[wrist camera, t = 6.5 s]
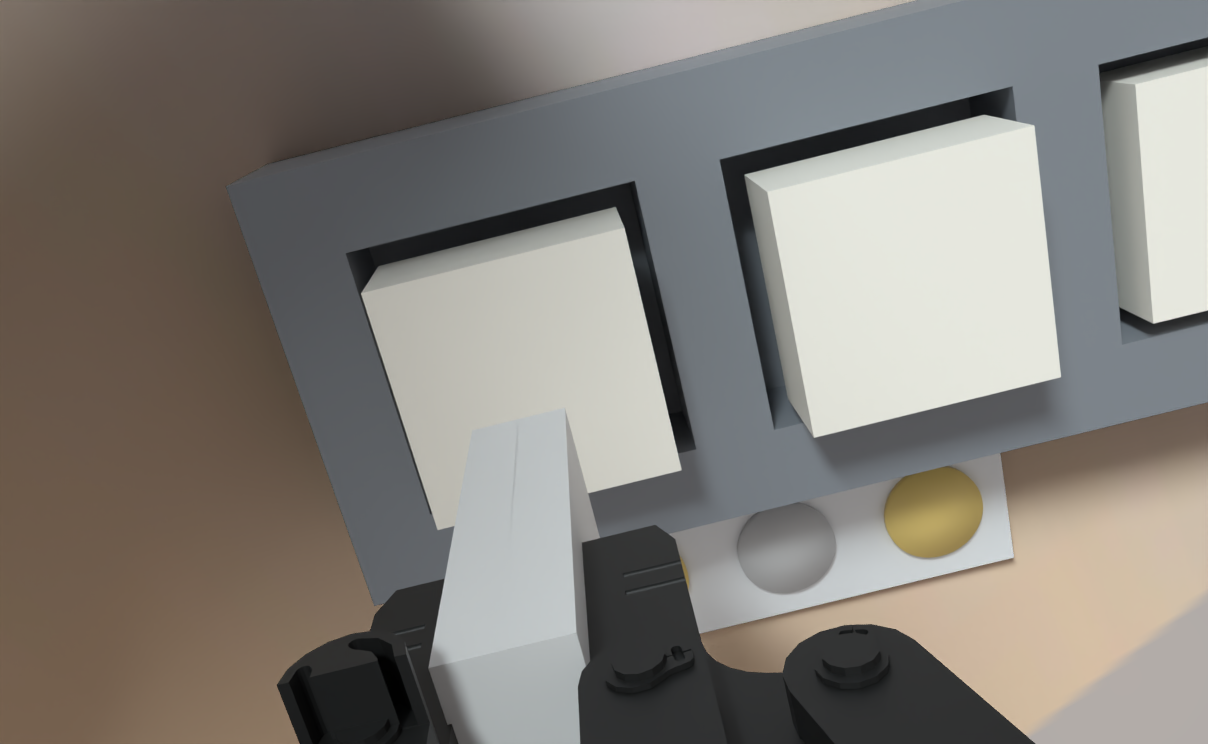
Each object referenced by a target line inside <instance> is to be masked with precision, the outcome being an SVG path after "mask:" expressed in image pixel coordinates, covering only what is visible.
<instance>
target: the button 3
mask: <svg viewBox="0 0 1208 744" xmlns="http://www.w3.org/2000/svg"><path fill="white" fill-rule="evenodd" d="M1099 78H1100V90H1101V101H1102V113H1103V125H1104V137H1105V148H1106V160H1107V172H1108V183H1109V195H1110V207H1111V219H1112V230H1113V242H1114V254H1115V265H1116V277H1117V289H1118V301H1119V307H1120V308H1122V309H1124V310H1126V311H1128V312H1130V313H1132V314H1135V315H1137V316H1139V317H1141V318H1143V319H1145V320H1147V321H1149V322H1151V323H1153V324H1154V323H1158V322H1162V321H1166V320H1171V319H1175V318H1179V317H1183V316H1187V315H1191V314H1195V313H1199V312H1203V311H1207V310H1208V46H1206V47H1202V48H1198V49H1194V50H1190V51H1186V52H1182V53H1178V54H1174V55H1170V56H1166V57H1162V58H1158V59H1154V60H1150V61H1146V62H1142V63H1138V64H1134V65H1130V66H1126V67H1122V68H1118V69H1114V70H1110V71H1106V72H1102V73H1099Z"/></svg>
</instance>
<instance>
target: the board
mask: <svg viewBox="0 0 1208 744" xmlns="http://www.w3.org/2000/svg"><path fill="white" fill-rule="evenodd" d="M1206 46H1208V0H916V1H913V2H909V3H905V4H901V5H897V6H893V7H889V8H885V9H881V10H877V11H873V12H869V13H865V14H861V15H857V16H853V17H849V18H845V19H841V20H837V21H833V22H829V23H825V24H821V25H817V26H813V27H809V28H805V29H802V30H798V31H794V32H790V33H786V34H782V35H778V36H774V37H770V38H766V39H762V40H758V41H754V42H750V43H746V44H742V45H738V46H734V47H730V48H726V49H722V50H718V51H714V52H710V53H706V54H702V55H698V56H695V57H691V58H687V59H683V60H679V61H675V62H671V63H667V64H663V65H659V66H655V67H651V68H647V69H643V70H639V71H635V72H631V73H627V74H623V75H619V76H615V77H611V78H607V79H603V80H599V81H595V82H591V83H587V84H584V85H580V86H576V87H572V88H568V89H564V90H560V91H556V92H552V93H548V94H544V95H540V96H536V97H532V98H528V99H524V100H520V101H516V102H512V103H508V104H504V105H500V106H496V107H492V108H488V109H484V110H480V111H476V112H473V113H469V114H465V115H461V116H457V117H453V118H449V119H445V120H441V121H437V122H433V123H429V124H425V125H421V126H417V127H413V128H409V129H405V130H401V131H397V132H393V133H389V134H385V135H381V136H377V137H373V138H369V139H365V140H362V141H358V142H354V143H350V144H346V145H342V146H338V147H334V148H330V149H326V150H322V151H318V152H314V153H310V154H306V155H302V156H298V157H294V158H290V159H286V160H282V161H278V162H274V163H270V164H267V165H265V166H263V167H261V168H259V169H257V170H256V171H254V172H252V173H250V174H248V175H246V176H244V177H242V178H241V179H239V180H237V181H235V182H233V183H231V184H229V185H228V186H226V189H227V192H228V194H229V197H230V200H231V203H232V206H233V208H234V211H235V214H236V217H237V220H238V223H239V225H240V228H241V231H242V234H243V237H244V240H245V242H246V245H247V248H248V251H249V254H250V256H251V259H252V262H253V265H254V268H255V271H256V273H257V276H258V279H259V282H260V285H261V287H262V290H263V293H264V296H265V299H266V302H267V304H268V307H269V310H270V313H271V316H272V318H273V321H274V324H275V327H276V330H277V333H278V335H279V338H280V341H281V344H282V347H283V350H284V352H285V355H286V358H287V361H288V364H289V366H290V369H291V372H292V375H293V378H294V381H295V383H296V386H297V389H298V392H299V395H300V397H301V400H302V403H303V406H304V409H305V412H306V414H307V417H308V420H309V423H310V426H311V428H312V431H313V434H314V437H315V440H316V443H317V445H318V448H319V451H320V454H321V457H322V460H323V462H324V465H325V468H326V471H327V474H328V476H329V479H330V482H331V485H332V488H333V491H334V493H335V496H336V499H337V502H338V505H339V507H340V510H341V513H342V516H343V519H344V522H345V524H346V527H347V530H348V533H349V536H350V538H351V541H352V544H353V547H354V550H355V553H356V555H357V558H358V561H359V564H360V567H361V570H362V572H363V575H364V578H365V581H366V584H367V586H368V589H369V592H370V595H371V598H372V601H373V603H374V606H376V605H380V604H384V603H386V601H387V600H388V599H389V598H390V597H391V596H392V595H393V593H394V592H395V591H396V590H400V589H404V588H408V587H412V586H416V585H420V584H424V583H429V582H433V581H437V580H441V579H445V575H446V570H447V564H448V559H449V553H450V548H451V542H452V537H453V532H454V526H453V527H449V528H444V529H440V530H437V527H436V524H435V520H434V517H433V514H432V511H431V508H430V505H429V502H428V499H427V496H426V493H425V490H424V486H423V483H422V480H421V477H420V474H419V471H418V468H417V465H416V462H415V459H414V456H413V452H412V449H411V446H410V443H409V440H408V437H407V434H406V431H405V428H404V425H403V422H402V419H401V415H400V412H399V409H398V406H397V403H396V400H395V397H394V394H393V391H392V388H391V385H390V381H389V378H388V375H387V372H386V369H385V366H384V363H383V360H382V357H381V354H380V351H379V348H378V344H377V341H376V338H375V335H374V332H373V329H372V326H371V323H370V320H369V317H368V314H367V310H366V307H365V304H364V301H363V298H362V295H361V293H362V291H363V290H364V288H365V286H366V285H367V283H368V282H369V280H370V279H371V277H372V276H373V274H374V272H375V271H376V269H377V268H378V266H381V265H385V264H389V263H393V262H397V261H401V260H405V259H409V258H413V257H417V256H421V255H425V254H429V253H433V252H437V251H441V250H445V249H449V248H453V247H457V246H461V245H465V244H469V243H473V242H477V241H481V240H485V239H489V238H493V237H497V236H501V235H505V234H509V233H513V232H517V231H521V230H525V229H529V228H533V227H537V226H541V225H545V224H549V223H553V222H557V221H561V220H565V219H569V218H573V217H577V216H581V215H585V214H589V213H593V212H597V211H601V210H605V209H609V208H613V207H616V209H617V211H618V214H619V216H620V218H621V221H622V223H623V225H624V228H625V232H626V236H627V241H628V245H629V249H630V253H631V257H632V262H633V266H634V270H635V274H636V279H637V283H638V287H639V291H640V296H641V300H642V304H643V308H644V313H645V317H646V321H647V325H648V330H649V334H650V338H651V342H652V346H653V351H654V355H655V359H656V363H657V368H658V372H659V376H660V380H661V385H662V389H663V393H664V397H665V402H666V406H667V410H668V414H669V419H670V423H671V427H672V431H673V435H674V440H675V444H676V448H677V452H678V457H679V461H680V465H681V469H682V470H681V471H677V472H673V473H669V474H665V475H660V476H656V477H652V478H648V479H644V480H640V481H636V482H632V483H628V484H624V485H620V486H616V487H612V488H607V489H603V490H599V491H595V492H591V493H588V495H589V499H590V503H591V507H592V510H593V514H594V518H595V521H596V525H597V529H598V533H599V536H600V538H603V537H607V536H611V535H615V534H619V533H623V532H627V531H631V530H636V529H640V528H644V527H648V526H652V525H656V526H658V527H659V528H661V529H662V530H663V531H665V532H666V533H668V534H670V533H675V532H679V531H683V530H687V529H691V528H695V527H699V526H703V525H707V524H711V523H715V522H720V521H724V520H728V519H732V518H736V517H740V516H744V515H748V514H752V513H756V512H760V511H765V510H769V509H773V508H777V507H781V506H785V505H789V504H793V503H797V502H801V501H806V500H810V499H814V498H818V497H822V496H826V495H830V494H834V493H838V492H842V491H846V490H851V489H855V488H859V487H863V486H867V485H871V484H875V483H879V482H883V481H887V480H891V479H896V478H900V477H904V476H908V475H912V474H916V473H920V472H924V471H928V470H932V469H936V468H941V467H945V466H949V465H953V464H957V463H961V462H965V461H969V460H973V459H977V458H982V457H986V456H990V455H994V454H998V453H1002V452H1006V451H1010V450H1014V449H1018V448H1022V447H1027V446H1031V445H1035V444H1039V443H1043V442H1047V441H1051V440H1055V439H1059V438H1063V437H1067V436H1072V435H1076V434H1080V433H1084V432H1088V431H1092V430H1096V429H1100V428H1104V427H1108V426H1113V425H1117V424H1121V423H1125V422H1129V421H1133V420H1137V419H1141V418H1145V417H1149V416H1153V415H1158V414H1162V413H1166V412H1170V411H1174V410H1178V409H1182V408H1186V407H1190V406H1194V405H1198V404H1203V403H1207V402H1208V310H1207V311H1203V312H1199V313H1195V314H1191V315H1187V316H1183V317H1179V318H1175V319H1171V320H1166V321H1162V322H1158V323H1154V324H1153V323H1151V322H1149V321H1147V320H1145V319H1143V318H1141V317H1139V316H1137V315H1135V314H1132V313H1130V312H1128V311H1126V310H1124V309H1122V308H1120V307H1119V301H1118V289H1117V277H1116V265H1115V254H1114V242H1113V230H1112V219H1111V207H1110V195H1109V183H1108V172H1107V160H1106V148H1105V137H1104V125H1103V113H1102V101H1101V90H1100V78H1099V73H1102V72H1106V71H1110V70H1114V69H1118V68H1122V67H1126V66H1130V65H1134V64H1138V63H1142V62H1146V61H1150V60H1154V59H1158V58H1162V57H1166V56H1170V55H1174V54H1178V53H1182V52H1186V51H1190V50H1194V49H1198V48H1202V47H1206ZM981 115H988V116H993V117H997V118H1002V119H1007V120H1012V121H1016V122H1021V123H1026V124H1030V125H1034V126H1035V135H1036V145H1037V154H1038V164H1039V173H1040V182H1041V192H1042V201H1043V211H1044V220H1045V230H1046V239H1047V248H1048V258H1049V267H1050V277H1051V286H1052V296H1053V305H1054V314H1055V324H1056V333H1057V343H1058V352H1059V362H1060V371H1061V377H1060V378H1056V379H1052V380H1048V381H1044V382H1040V383H1035V384H1031V385H1027V386H1023V387H1019V388H1015V389H1011V390H1007V391H1003V392H999V393H995V394H991V395H987V396H983V397H978V398H974V399H970V400H966V401H962V402H958V403H954V404H950V405H946V406H942V407H938V408H934V409H930V410H925V411H921V412H917V413H913V414H909V415H905V416H901V417H897V418H893V419H889V420H885V421H881V422H877V423H872V424H868V425H864V426H860V427H856V428H852V429H848V430H844V431H840V432H836V433H832V434H828V435H824V436H819V437H815V438H814V437H813V436H812V434H811V433H810V431H809V430H808V428H807V427H806V425H805V424H804V422H803V421H802V419H801V418H800V416H799V415H798V413H797V412H796V410H795V409H794V407H793V406H792V404H791V403H790V401H789V400H788V396H787V391H786V386H785V381H784V376H783V371H782V366H781V361H780V356H779V351H778V345H777V340H776V335H775V330H774V325H773V320H772V315H771V310H770V305H769V299H768V294H767V289H766V284H765V279H764V274H763V269H762V264H761V259H760V253H759V248H758V243H757V238H756V233H755V228H754V223H753V218H752V213H751V208H750V202H749V197H748V192H747V187H746V182H745V177H744V175H745V174H749V173H753V172H757V171H761V170H765V169H769V168H773V167H777V166H781V165H785V164H789V163H793V162H797V161H801V160H805V159H809V158H813V157H817V156H821V155H825V154H829V153H833V152H837V151H841V150H845V149H849V148H853V147H857V146H861V145H865V144H869V143H873V142H877V141H881V140H885V139H889V138H893V137H897V136H901V135H905V134H909V133H913V132H917V131H921V130H925V129H929V128H933V127H937V126H941V125H945V124H949V123H953V122H957V121H961V120H965V119H969V118H973V117H977V116H981Z"/></svg>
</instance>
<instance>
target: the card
mask: <svg viewBox="0 0 1208 744" xmlns="http://www.w3.org/2000/svg"><path fill="white" fill-rule="evenodd" d="M669 535H670V536H672V537H673V538H675V540H676V544H677V548H678V552H679V555H680V559H681V563H682V567H683V571H684V575H685V579H686V583H687V587H688V591H689V595H690V599H691V603H692V606H693V610H694V614H695V618H696V622H697V626H698V630H699V634H701V633H705V632H709V631H713V630H717V629H721V628H725V627H729V626H734V625H738V624H742V623H746V622H750V621H754V620H758V619H762V618H767V617H771V616H775V615H779V614H783V613H787V612H791V611H795V610H800V609H804V608H808V607H812V606H816V605H820V604H824V603H828V602H832V601H837V600H841V599H845V598H849V597H853V596H857V595H861V594H865V593H870V592H874V591H878V590H882V589H886V588H890V587H894V586H898V585H903V584H907V583H911V582H915V581H919V580H923V579H927V578H931V577H936V576H940V575H944V574H948V573H952V572H956V571H960V570H964V569H969V568H973V567H977V566H981V565H985V564H989V563H993V562H997V561H1002V560H1006V559H1010V558H1014V554H1013V547H1012V539H1011V531H1010V523H1009V516H1008V508H1007V500H1006V492H1005V484H1004V477H1003V469H1002V461H1001V453H998V454H994V455H990V456H986V457H982V458H977V459H973V460H969V461H965V462H961V463H957V464H953V465H949V466H945V467H941V468H936V469H932V470H928V471H924V472H920V473H916V474H912V475H908V476H904V477H900V478H896V479H891V480H887V481H883V482H879V483H875V484H871V485H867V486H863V487H859V488H855V489H851V490H846V491H842V492H838V493H834V494H830V495H826V496H822V497H818V498H814V499H810V500H806V501H801V502H797V503H793V504H789V505H785V506H781V507H777V508H773V509H769V510H765V511H760V512H756V513H752V514H748V515H744V516H740V517H736V518H732V519H728V520H724V521H720V522H715V523H711V524H707V525H703V526H699V527H695V528H691V529H687V530H683V531H679V532H675V533H670V534H669Z"/></svg>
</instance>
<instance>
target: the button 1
mask: <svg viewBox="0 0 1208 744" xmlns="http://www.w3.org/2000/svg"><path fill="white" fill-rule="evenodd" d="M361 295H362V298H363V301H364V304H365V307H366V310H367V314H368V317H369V320H370V323H371V326H372V329H373V332H374V335H375V338H376V341H377V344H378V348H379V351H380V354H381V357H382V360H383V363H384V366H385V369H386V372H387V375H388V378H389V381H390V385H391V388H392V391H393V394H394V397H395V400H396V403H397V406H398V409H399V412H400V415H401V419H402V422H403V425H404V428H405V431H406V434H407V437H408V440H409V443H410V446H411V449H412V452H413V456H414V459H415V462H416V465H417V468H418V471H419V474H420V477H421V480H422V483H423V486H424V490H425V493H426V496H427V499H428V502H429V505H430V508H431V511H432V514H433V517H434V520H435V524H436V527H437V530H440V529H444V528H449V527H453V526H455V521H456V515H457V510H458V505H459V499H460V494H461V488H462V483H463V477H464V472H465V467H466V461H467V456H468V450H469V445H470V439H471V434H472V430H476V429H480V428H484V427H488V426H492V425H496V424H500V423H504V422H509V421H513V420H517V419H521V418H525V417H529V416H533V415H537V414H541V413H545V412H549V411H553V410H557V409H562V408H565V410H566V413H567V417H568V421H569V425H570V428H571V432H572V436H573V440H574V443H575V447H576V451H577V454H578V458H579V462H580V466H581V469H582V473H583V477H584V480H585V484H586V488H587V492H588V493H591V492H595V491H599V490H603V489H607V488H612V487H616V486H620V485H624V484H628V483H632V482H636V481H640V480H644V479H648V478H652V477H656V476H660V475H665V474H669V473H673V472H677V471H681V470H682V469H681V465H680V461H679V457H678V452H677V448H676V444H675V440H674V435H673V431H672V427H671V423H670V419H669V414H668V410H667V406H666V402H665V397H664V393H663V389H662V385H661V380H660V376H659V372H658V368H657V363H656V359H655V355H654V351H653V346H652V342H651V338H650V334H649V330H648V325H647V321H646V317H645V313H644V308H643V304H642V300H641V296H640V291H639V287H638V283H637V279H636V274H635V270H634V266H633V262H632V257H631V253H630V249H629V245H628V241H627V236H626V232H625V228H624V225H623V223H622V221H621V218H620V216H619V214H618V211H617V209H616V207H613V208H609V209H605V210H601V211H597V212H593V213H589V214H585V215H581V216H577V217H573V218H569V219H565V220H561V221H557V222H553V223H549V224H545V225H541V226H537V227H533V228H529V229H525V230H521V231H517V232H513V233H509V234H505V235H501V236H497V237H493V238H489V239H485V240H481V241H477V242H473V243H469V244H465V245H461V246H457V247H453V248H449V249H445V250H441V251H437V252H433V253H429V254H425V255H421V256H417V257H413V258H409V259H405V260H401V261H397V262H393V263H389V264H385V265H381V266H378V268H377V269H376V271H375V272H374V274H373V276H372V277H371V279H370V280H369V282H368V283H367V285H366V286H365V288H364V290H363V291H362V293H361Z"/></svg>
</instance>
